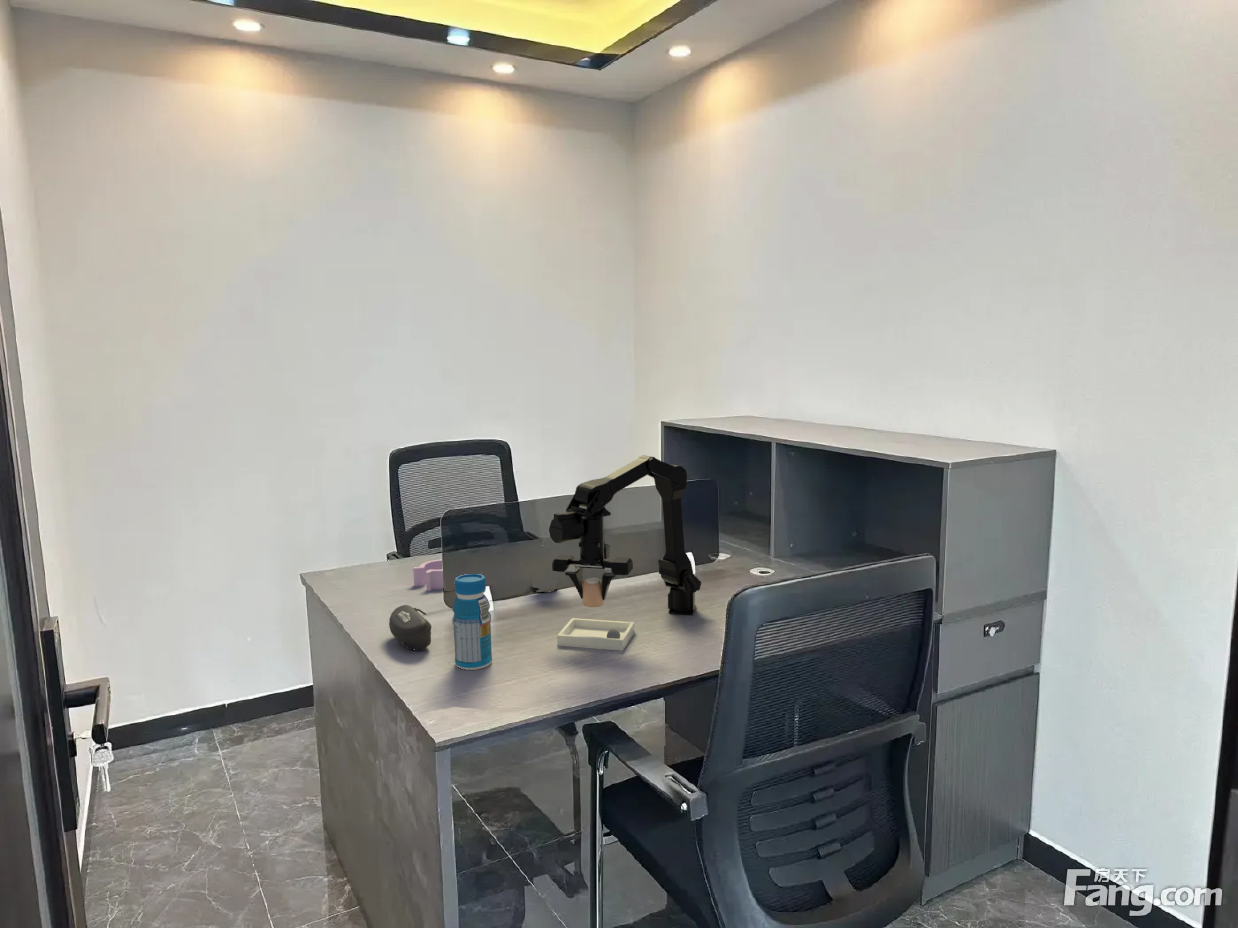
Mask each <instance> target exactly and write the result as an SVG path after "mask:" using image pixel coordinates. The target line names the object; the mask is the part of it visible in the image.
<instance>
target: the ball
mask: <svg viewBox="0 0 1238 928" xmlns="http://www.w3.org/2000/svg"><path fill="white" fill-rule="evenodd" d="M607 638H615V639H620V633H619V631H618V630H616V629H611V630H609V631H608V633H607Z"/></svg>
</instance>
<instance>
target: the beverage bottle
mask: <svg viewBox="0 0 1238 928" xmlns="http://www.w3.org/2000/svg"><path fill="white" fill-rule="evenodd" d="M486 582H487V580H486V576H485V575H483V574H482V573H481V574H464V575H460V576H458V577H456V578H455V581H454V584H455V587H454V592H455V594H456V598H454V601H453V603H452V607H451V608H452V609H451V611H452V612H453V616H452V621H451V622H452V625H453V638H454V642H453V643H454V663H455V666H456V667H457V668H458V667H459V668H458V669H460V668H461V670H464V669H465V670H464V671H477V670H481V669H484V668H487V667H488V666H490V665H491V664H492V662H493V654H492V630H491V629H492V627H491V623H492V615H491V612H490V611H489V610H490V608H491V605H490V601H489V600H488V599H489V598H487V596H486V594H485V592H486V589H487V585H486Z"/></svg>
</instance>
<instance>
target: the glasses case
mask: <svg viewBox="0 0 1238 928" xmlns="http://www.w3.org/2000/svg"><path fill="white" fill-rule="evenodd" d="M419 612H420V613H419ZM422 614H423V615H422ZM424 615H425V616H427V613H426V612H424V611H423V610H422V609H421V608H420V609H419V608H417V607H413V606H411V605H408V604H404V605H399V606H398V607H396V608H395V609H394V610H393V611H392V612H391V614H390V617H389V622H388V627H389V630H390V633H391V634H392V636H393V637H394V638H395V639H396V640H398V642H400V643H401V645H402V646H404V647H406V646H407V647H408V648H407V647H406V648H407V649H409V648H411V649H415V650H418V651H422V649H423V650H424V649H427V647H429V646H430V645H431V643H432V637H431V635H432V624H431V622H429V621H428V620H427V619H426V618H425V617H424ZM411 649H410V650H411ZM415 650H414V651H415Z"/></svg>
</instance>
